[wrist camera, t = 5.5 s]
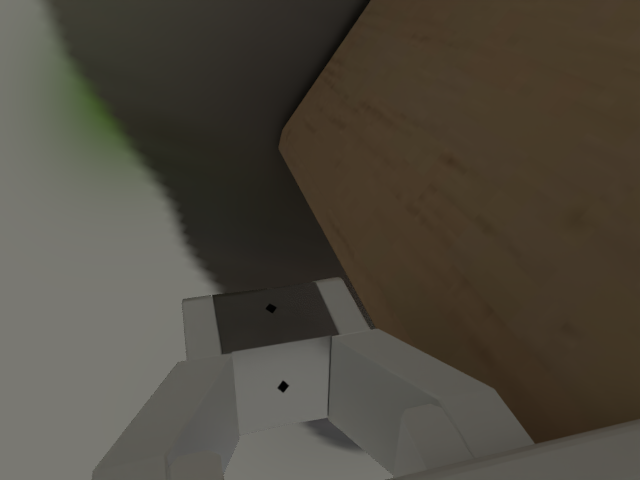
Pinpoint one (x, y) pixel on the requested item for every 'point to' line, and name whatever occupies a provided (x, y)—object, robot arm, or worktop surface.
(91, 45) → the worktop surface
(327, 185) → the wooden block
